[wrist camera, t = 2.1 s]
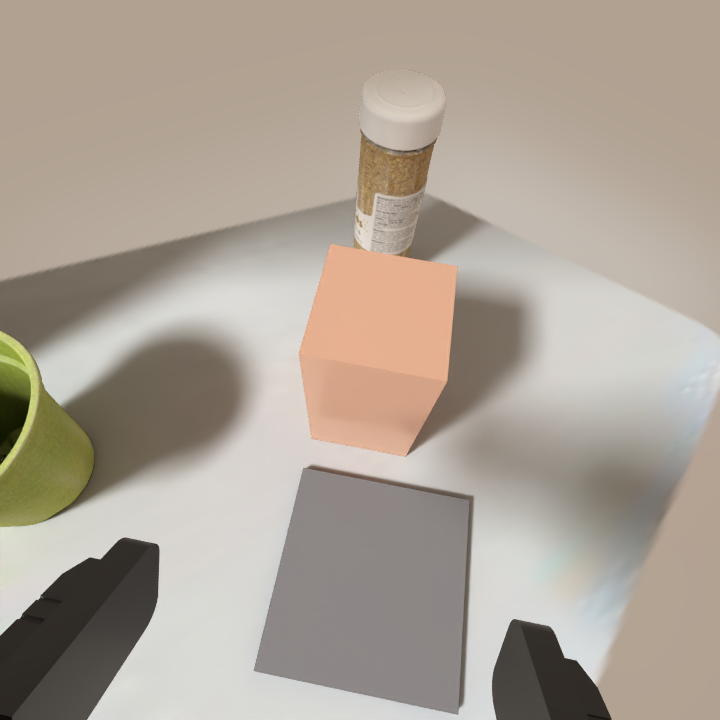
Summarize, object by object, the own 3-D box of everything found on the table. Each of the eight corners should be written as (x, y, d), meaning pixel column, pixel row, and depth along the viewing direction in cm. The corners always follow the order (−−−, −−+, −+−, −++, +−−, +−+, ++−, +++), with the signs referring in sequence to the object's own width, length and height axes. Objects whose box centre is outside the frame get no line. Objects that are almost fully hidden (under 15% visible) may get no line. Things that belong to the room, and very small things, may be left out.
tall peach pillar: (311, 438, 26) (298, 353, 17) (331, 356, 29) (330, 244, 20) (405, 456, 26) (447, 381, 17) (416, 372, 29) (457, 266, 19)
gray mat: (255, 668, 21) (253, 670, 20) (303, 469, 26) (303, 467, 25) (455, 711, 20) (458, 714, 20) (467, 501, 25) (469, 500, 25)
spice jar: (351, 242, 34) (360, 62, 23) (406, 244, 35) (444, 67, 23) (350, 286, 32) (360, 113, 20) (409, 288, 33) (453, 118, 21)
